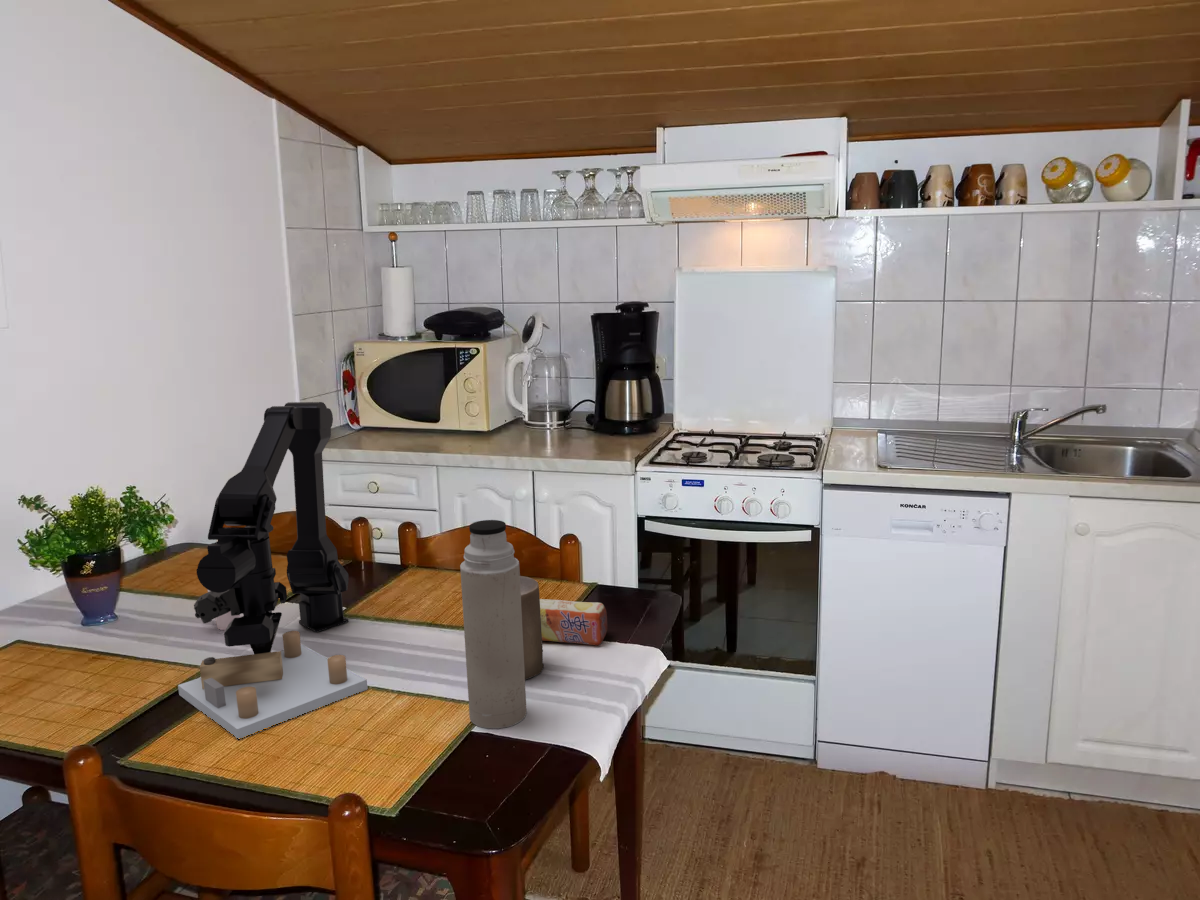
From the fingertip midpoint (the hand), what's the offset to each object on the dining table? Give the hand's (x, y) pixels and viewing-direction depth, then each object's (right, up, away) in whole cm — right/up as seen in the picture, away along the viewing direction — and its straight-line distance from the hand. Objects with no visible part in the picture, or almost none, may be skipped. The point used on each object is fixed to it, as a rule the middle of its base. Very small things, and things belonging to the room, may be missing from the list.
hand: (263, 664), depth 144 cm
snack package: (+42, +1, +14) cm, 45 cm away
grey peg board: (+3, -3, -3) cm, 6 cm away
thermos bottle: (+37, -4, -12) cm, 40 cm away
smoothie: (-14, +1, +23) cm, 27 cm away
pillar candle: (+38, -1, +2) cm, 38 cm away
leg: (-2, -2, -3) cm, 4 cm away
